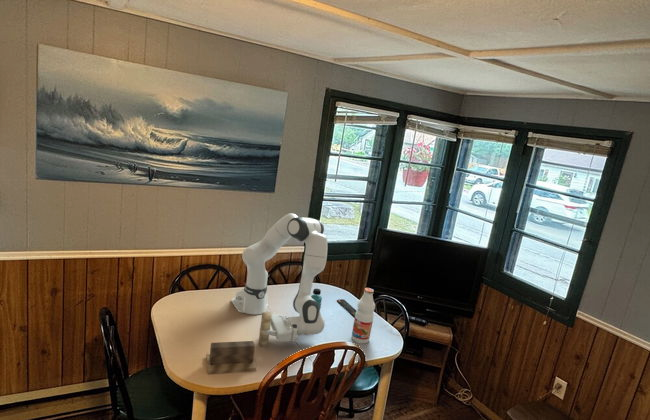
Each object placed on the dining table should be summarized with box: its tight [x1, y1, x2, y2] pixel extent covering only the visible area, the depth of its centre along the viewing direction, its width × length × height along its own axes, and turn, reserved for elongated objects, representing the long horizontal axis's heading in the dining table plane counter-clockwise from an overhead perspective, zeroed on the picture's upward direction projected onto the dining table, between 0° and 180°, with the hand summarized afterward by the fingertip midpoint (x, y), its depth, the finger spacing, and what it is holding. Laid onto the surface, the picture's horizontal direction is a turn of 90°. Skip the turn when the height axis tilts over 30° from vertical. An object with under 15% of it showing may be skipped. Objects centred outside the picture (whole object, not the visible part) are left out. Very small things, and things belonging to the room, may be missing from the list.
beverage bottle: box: [311, 288, 323, 309], centre depth 222 cm, size 6×7×20 cm
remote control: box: [336, 298, 357, 319], centre depth 249 cm, size 5×24×1 cm, turn 28°
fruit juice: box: [351, 287, 376, 344], centre depth 213 cm, size 9×9×28 cm
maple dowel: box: [257, 310, 273, 348], centre depth 196 cm, size 4×4×16 cm
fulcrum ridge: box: [205, 340, 257, 375], centre depth 177 cm, size 20×12×10 cm, turn 109°
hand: (263, 327), depth 195 cm, fingers open, 8 cm apart
